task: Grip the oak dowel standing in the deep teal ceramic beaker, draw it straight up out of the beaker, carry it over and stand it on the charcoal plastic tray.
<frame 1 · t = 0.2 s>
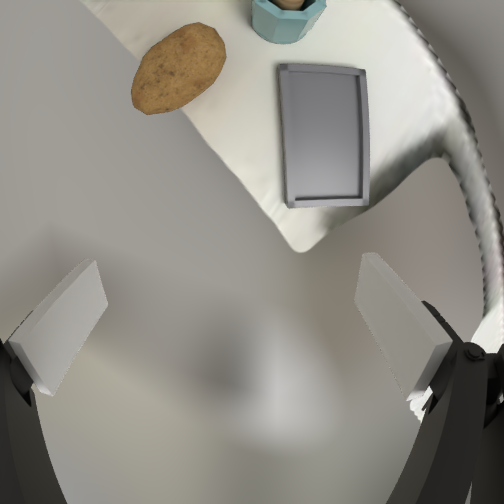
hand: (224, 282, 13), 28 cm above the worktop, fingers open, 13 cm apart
cup: (280, 21, 28), on the worktop
tray: (324, 134, 36), on the worktop
dowel: (281, 18, 28), point 1 cm above the worktop, touching cup
potato: (184, 76, 32), on the worktop
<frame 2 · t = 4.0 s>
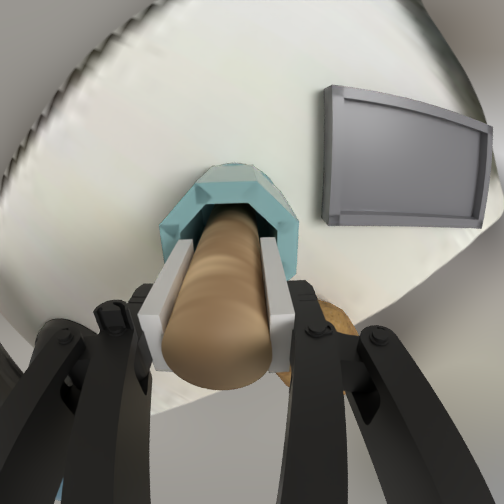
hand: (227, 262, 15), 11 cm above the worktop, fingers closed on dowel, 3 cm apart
cup: (234, 208, 25), on the worktop
tray: (415, 162, 23), on the worktop
dowel: (234, 210, 24), point 1 cm above the worktop, touching cup, gripper
potato: (309, 326, 31), on the worktop
when the fingers open (12 cm above the worktop, at t = 10.7 s): dowel drops 2 cm, resting on tray.
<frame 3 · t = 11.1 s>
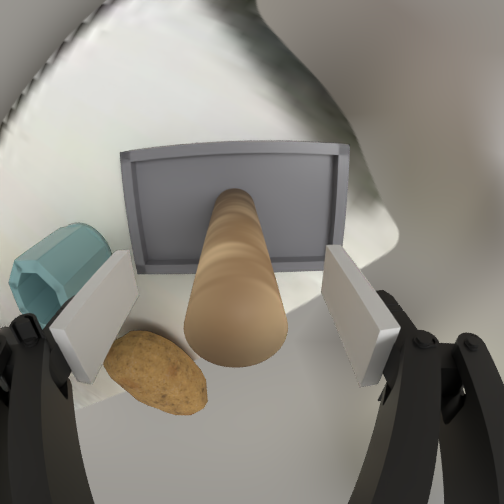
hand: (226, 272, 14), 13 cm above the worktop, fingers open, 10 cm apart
cup: (83, 256, 28), on the worktop
tray: (235, 204, 26), on the worktop
dowel: (234, 207, 25), point 1 cm above the worktop, touching tray
potato: (166, 350, 34), on the worktop
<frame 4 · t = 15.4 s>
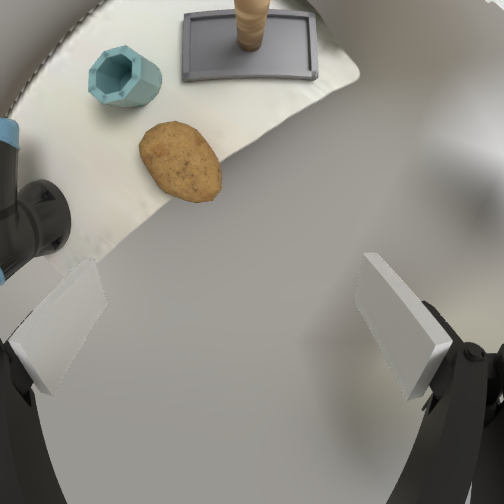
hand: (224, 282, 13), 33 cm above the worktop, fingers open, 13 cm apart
cup: (138, 83, 36), on the worktop
tray: (249, 44, 34), on the worktop
dowel: (249, 42, 33), point 1 cm above the worktop, touching tray
potato: (188, 160, 42), on the worktop
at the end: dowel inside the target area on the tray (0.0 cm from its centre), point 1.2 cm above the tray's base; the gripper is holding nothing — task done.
